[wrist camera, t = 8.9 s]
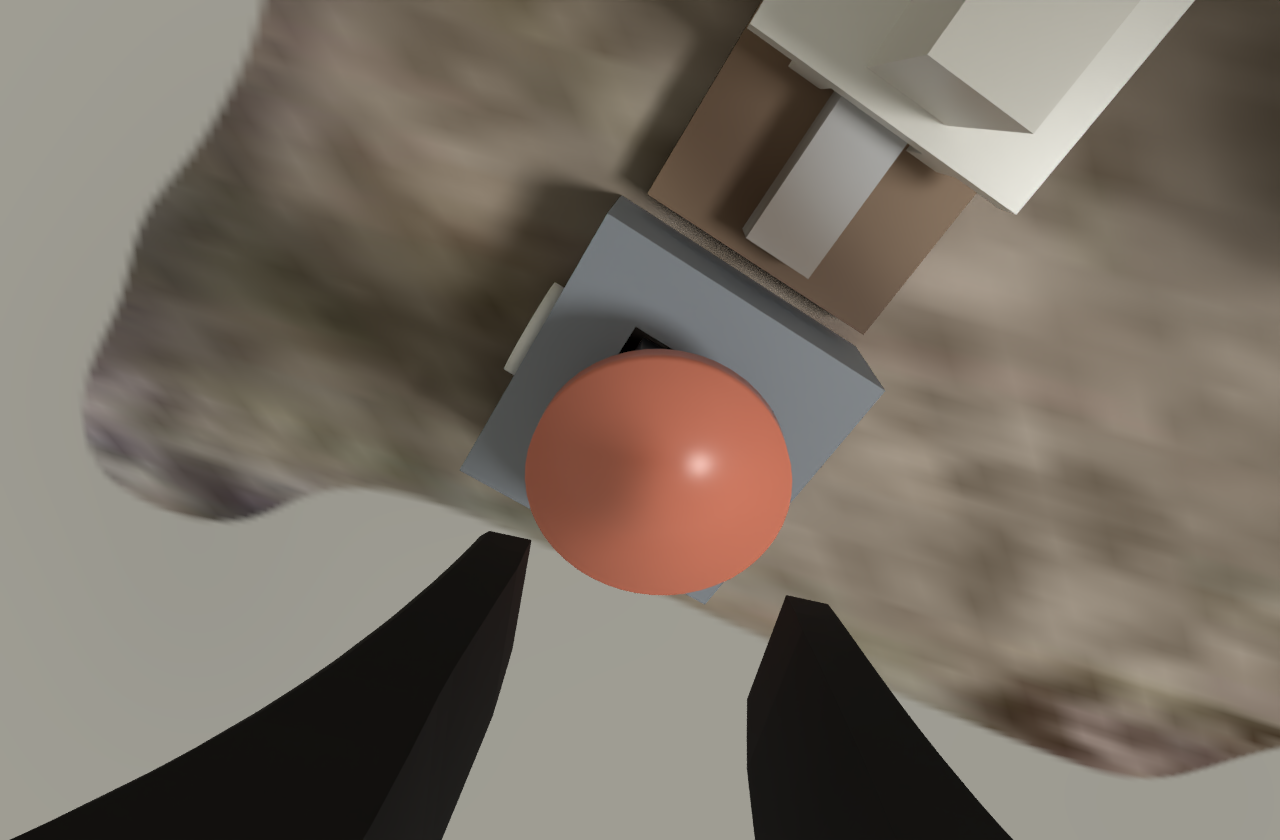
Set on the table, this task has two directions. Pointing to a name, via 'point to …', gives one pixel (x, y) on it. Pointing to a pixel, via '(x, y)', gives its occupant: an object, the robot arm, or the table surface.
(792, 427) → the grey square base
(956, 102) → the carriage
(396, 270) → the table surface
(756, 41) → the rail board
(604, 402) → the button
